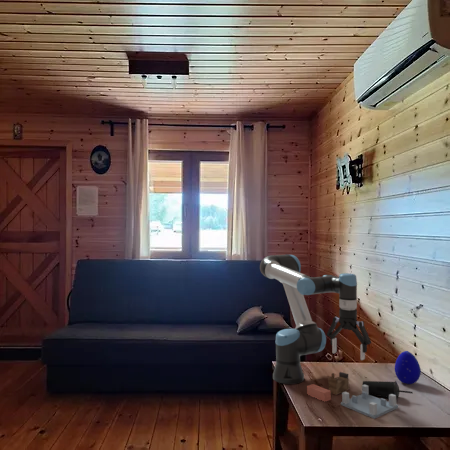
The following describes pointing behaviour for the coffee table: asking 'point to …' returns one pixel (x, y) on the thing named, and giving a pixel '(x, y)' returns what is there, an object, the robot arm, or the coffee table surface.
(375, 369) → the coffee table surface
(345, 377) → the brown blocky piece
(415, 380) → the ornament
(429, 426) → the coffee table surface
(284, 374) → the robot arm
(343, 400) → the jig
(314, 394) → the red rectangular block
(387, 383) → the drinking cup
